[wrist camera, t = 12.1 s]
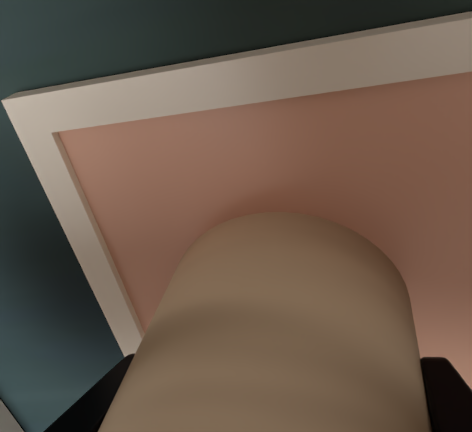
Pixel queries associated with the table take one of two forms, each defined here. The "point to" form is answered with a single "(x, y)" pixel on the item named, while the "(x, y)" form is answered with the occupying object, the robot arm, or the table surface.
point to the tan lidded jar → (277, 337)
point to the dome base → (8, 420)
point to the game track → (270, 163)
